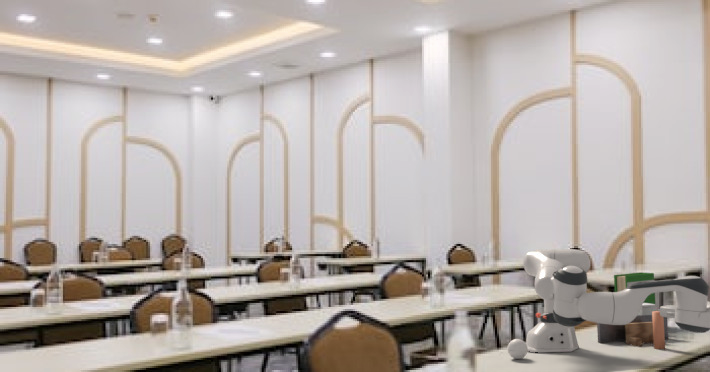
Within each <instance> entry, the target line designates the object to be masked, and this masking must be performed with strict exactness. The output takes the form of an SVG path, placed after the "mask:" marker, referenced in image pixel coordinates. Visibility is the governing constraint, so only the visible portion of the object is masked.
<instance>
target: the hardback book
mask: <svg viewBox="0 0 710 372" xmlns="http://www.w3.org/2000/svg"><path fill="white" fill-rule="evenodd" d="M647 281H655V274H654V273H653V272H643V271H642V272H640V271H639V272H632V273H631V272H629V273H623V274H622V273H621V274H613V282H614V292H620V291H622V290H624V289H626V287H627V286H628V285H630V284H633V283H638V282H647ZM643 303H650V304H656V293H652V294H650V295H649V296H647V298H646V299H645V301H644V302H643Z"/></svg>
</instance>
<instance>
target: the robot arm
mask: <svg viewBox="0 0 710 372" xmlns="http://www.w3.org/2000/svg"><path fill="white" fill-rule="evenodd" d="M522 262H523V263H522V264H523V269H524V270H525V272H526V273H527V275H529V276H532V277H535V278H534V291H535V293H536V294H537V296H538V297H539V298H541V299H542V300H543V308H544V311H543V312H542V313H541V312H536V313H535V317H536V318H538V319H540V321H539V322H538V323H537V324H536V325H535V326H534V327H532V328H531V329H530V330H528V332H527V334H526V339H525V343H526V345H527V348H528V351H527V352H529V351H530V352H531V353H535V352H538V353H561V352H562V353H563V352H565V353H566V352H574V351H575V350H578V349H579V348H580V345H579V343H578V342H579V341H578V339H577V335H576V327H577V326H579V325H581V324H583V323H585V322H587V321H588V322H592V323H595V324H597V323H601V324H609V325H626V324H628V323H630V322H632V321H633V320H634V319H635V318H636V316H637V315H638V313H639V311H640V309H641V306H642V304H643V302H644V301H645V299H646V298H647V296H649V295H650V294H652V293H655V294H657V293H664V292H665V293H666V292H675V304H674V305H661V306H660V307H659V311H660V316H662V317H667V319H668V318H669V319H674V323H675V324H676V325H677V327H679V329H681V330H684V331H688V332H692V333H699V334H702V333H707V332H710V301H708V297H709V290H710V286H709V284H708V283H707V282H706V280H705V279H704V278H702V277H700V276H698V275H697V276H696V275H686V276H682V277H675V278H668V279H660V280H659V279H658V280H654V281H647V282H638V283H633V284H630V285H628V286H627V287H626V289H624V290H622V291H620V292H615V291H613V292H612V291H593V292H587V291H588V289H587V287H588V285H587V284H588V274H587V273H588V272H589V271H590V268H591V259H590V256H589V255H588V253H587V252H586V251H584V250H580V249H576V248H575V249H574V248H561V249H560V248H557V249H555V248H553V249H536V250H532V251H531V250H530V251H528V252H527V253H526V254H525V256H524V258H523V261H522Z"/></svg>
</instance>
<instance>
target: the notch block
mask: <svg viewBox="0 0 710 372" xmlns="http://www.w3.org/2000/svg"><path fill="white" fill-rule="evenodd" d="M625 332H626V341H625V344H627V345H630V346H633V347H642V346H643V344H652V345H654V340H653V322H640V323H628V324H626V325H625Z"/></svg>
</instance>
